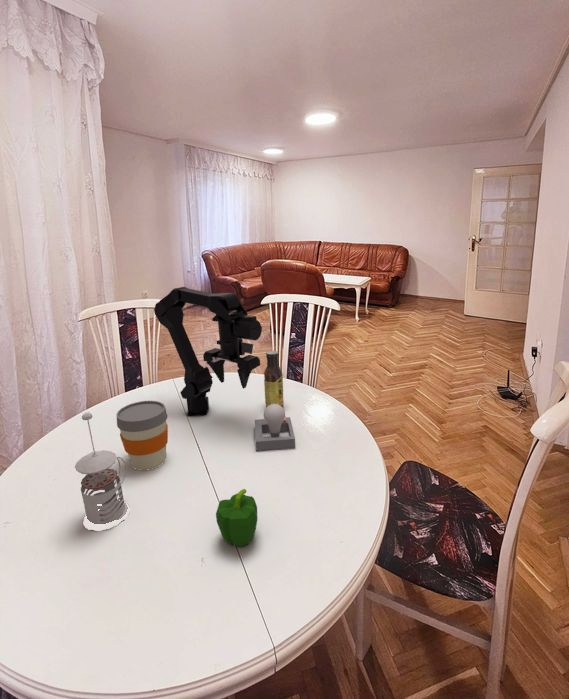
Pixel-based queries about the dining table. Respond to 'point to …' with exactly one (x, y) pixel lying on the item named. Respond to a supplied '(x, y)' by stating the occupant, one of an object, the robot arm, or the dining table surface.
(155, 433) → the reusable coffee cup
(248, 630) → the dining table surface
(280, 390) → the sauce bottle
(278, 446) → the socket
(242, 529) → the bell pepper
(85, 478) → the french press
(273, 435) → the lightbulb
